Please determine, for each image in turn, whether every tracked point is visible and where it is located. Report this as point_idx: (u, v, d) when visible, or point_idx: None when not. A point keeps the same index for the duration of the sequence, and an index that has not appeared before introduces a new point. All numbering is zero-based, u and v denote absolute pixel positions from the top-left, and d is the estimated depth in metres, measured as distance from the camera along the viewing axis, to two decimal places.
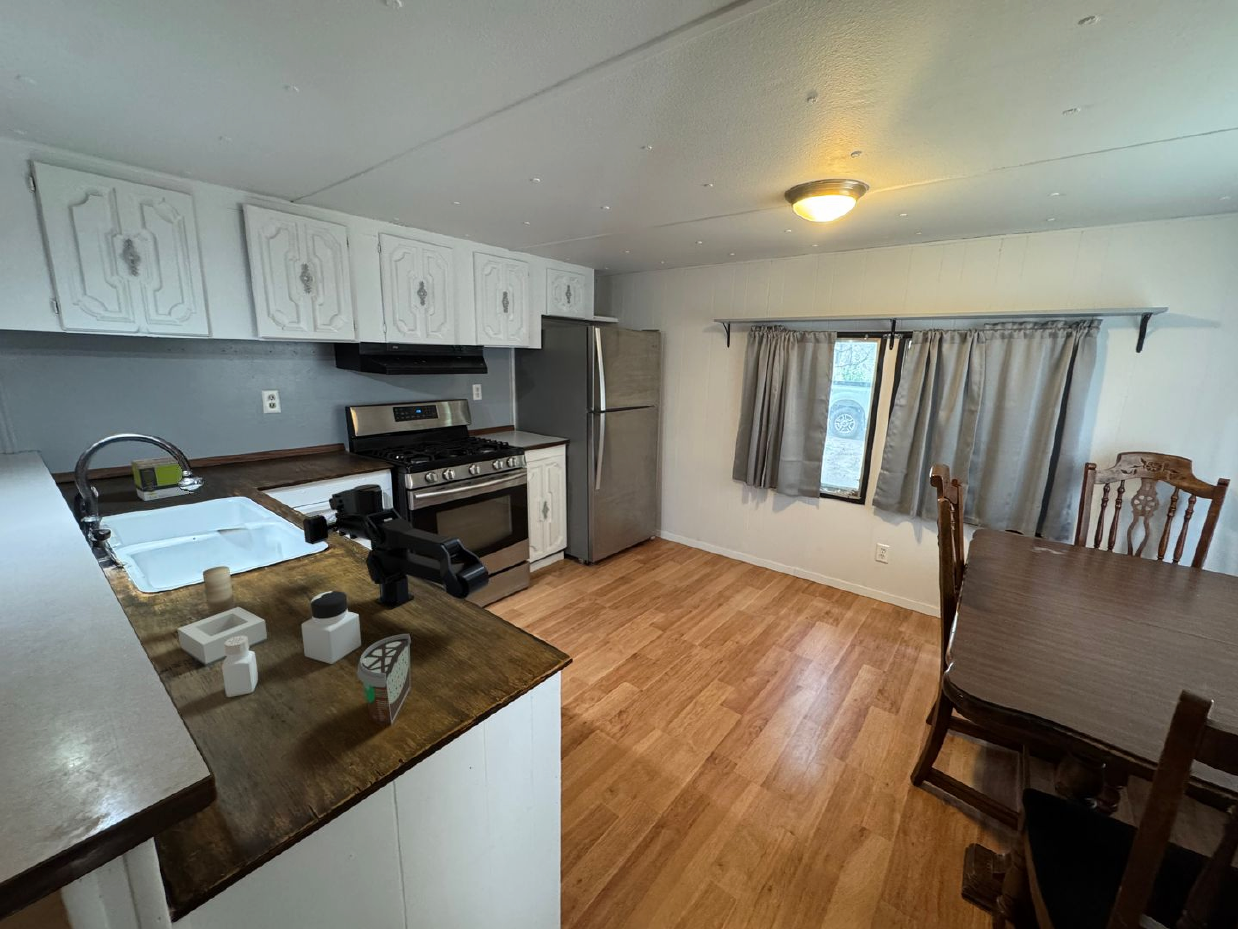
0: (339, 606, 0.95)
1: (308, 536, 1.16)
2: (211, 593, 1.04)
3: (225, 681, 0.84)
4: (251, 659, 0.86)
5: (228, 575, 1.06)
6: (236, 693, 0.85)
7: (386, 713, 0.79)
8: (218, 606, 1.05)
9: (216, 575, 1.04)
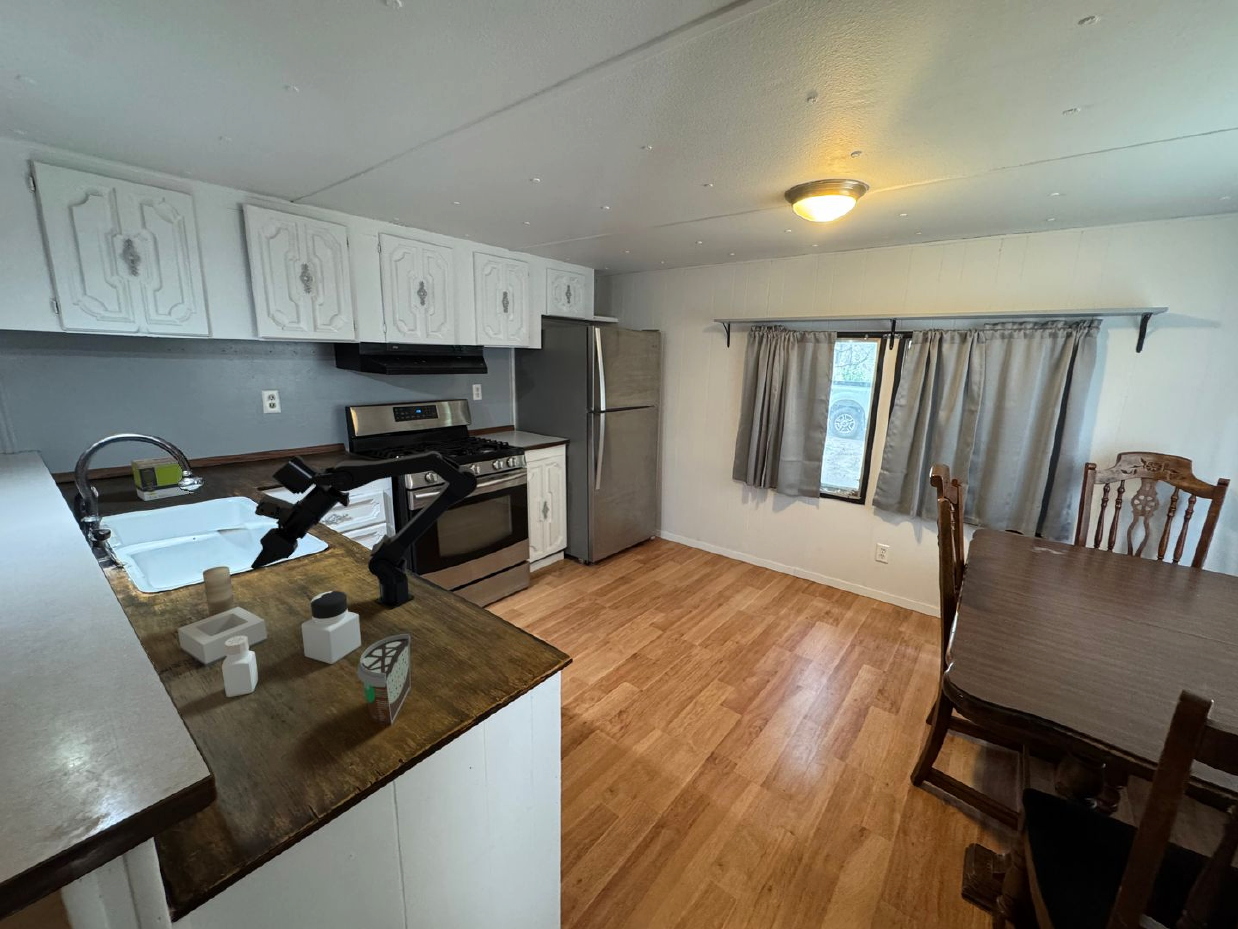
0: (339, 606, 0.95)
1: (283, 547, 1.01)
2: (210, 593, 1.04)
3: (225, 681, 0.84)
4: (251, 659, 0.86)
5: (228, 575, 1.06)
6: (236, 693, 0.85)
7: (386, 713, 0.79)
8: (218, 606, 1.05)
9: (216, 575, 1.04)
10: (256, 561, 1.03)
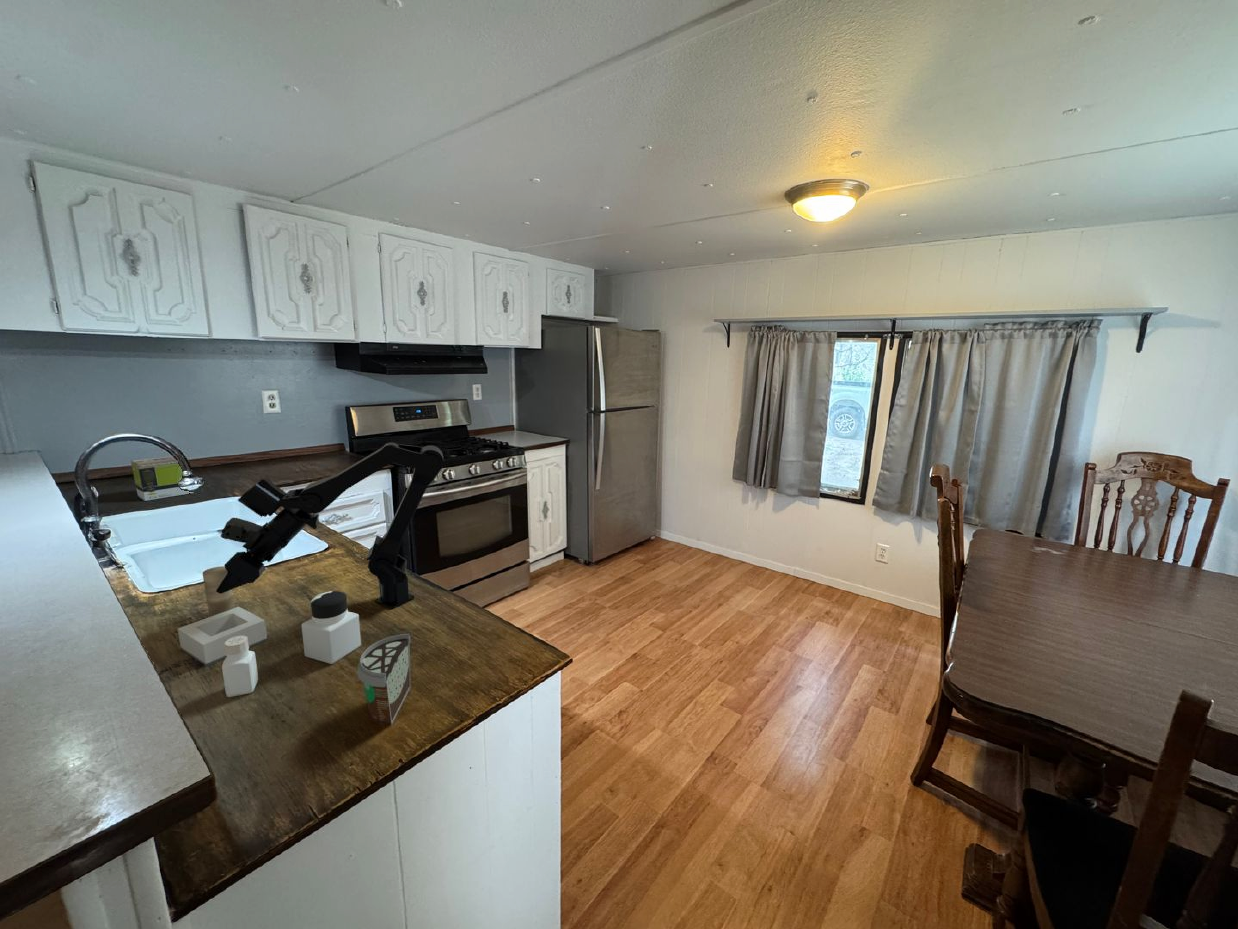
0: (339, 606, 0.95)
1: (248, 572, 0.99)
2: (210, 593, 1.04)
3: (225, 681, 0.84)
4: (251, 659, 0.86)
5: None
6: (236, 693, 0.85)
7: (386, 713, 0.79)
8: (218, 606, 1.05)
9: (216, 575, 1.04)
10: (222, 585, 1.02)
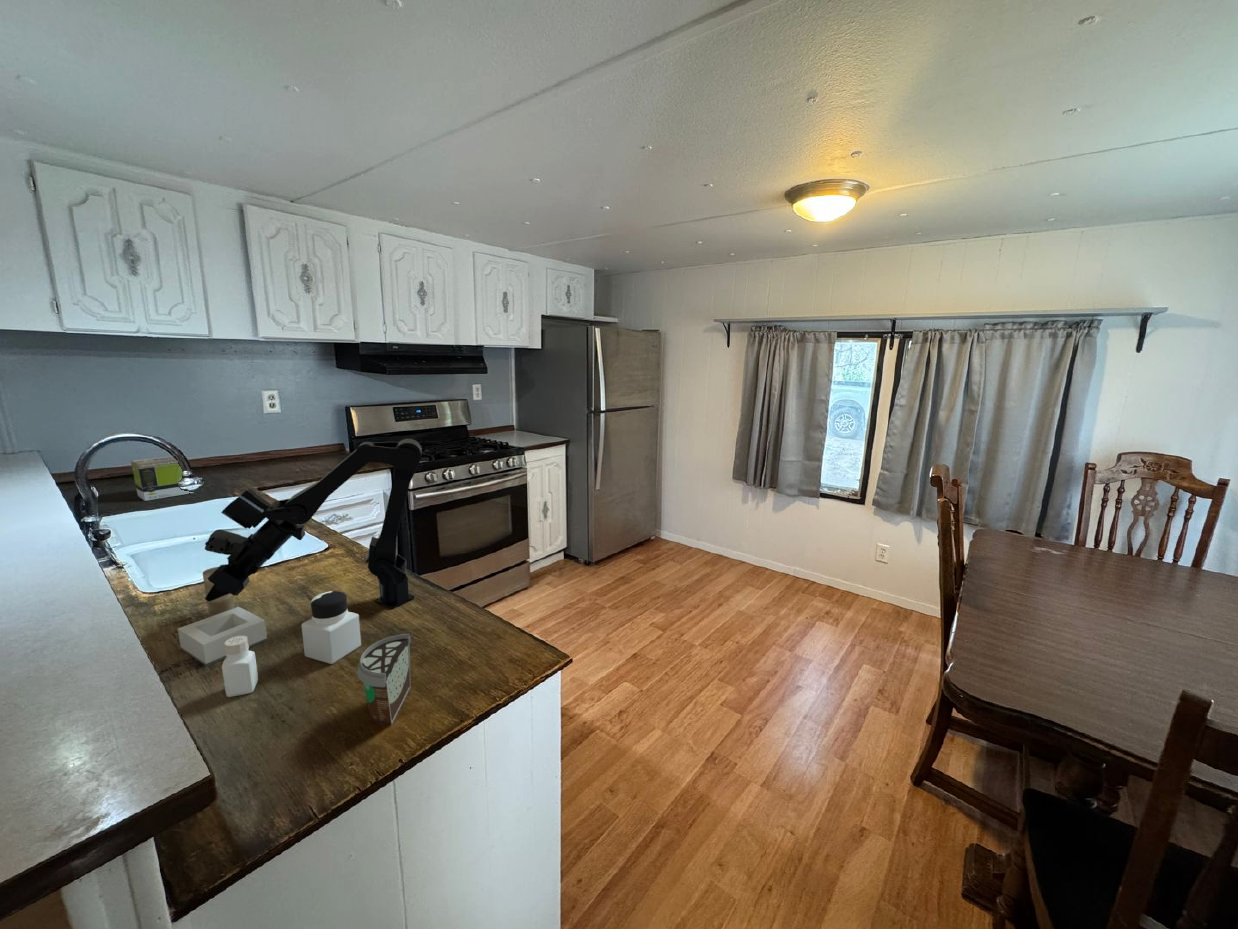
0: (339, 606, 0.95)
1: (231, 585, 0.99)
2: None
3: (225, 681, 0.84)
4: (251, 659, 0.86)
5: None
6: (236, 693, 0.85)
7: (386, 713, 0.79)
8: (218, 606, 1.05)
9: None
10: (210, 593, 1.03)
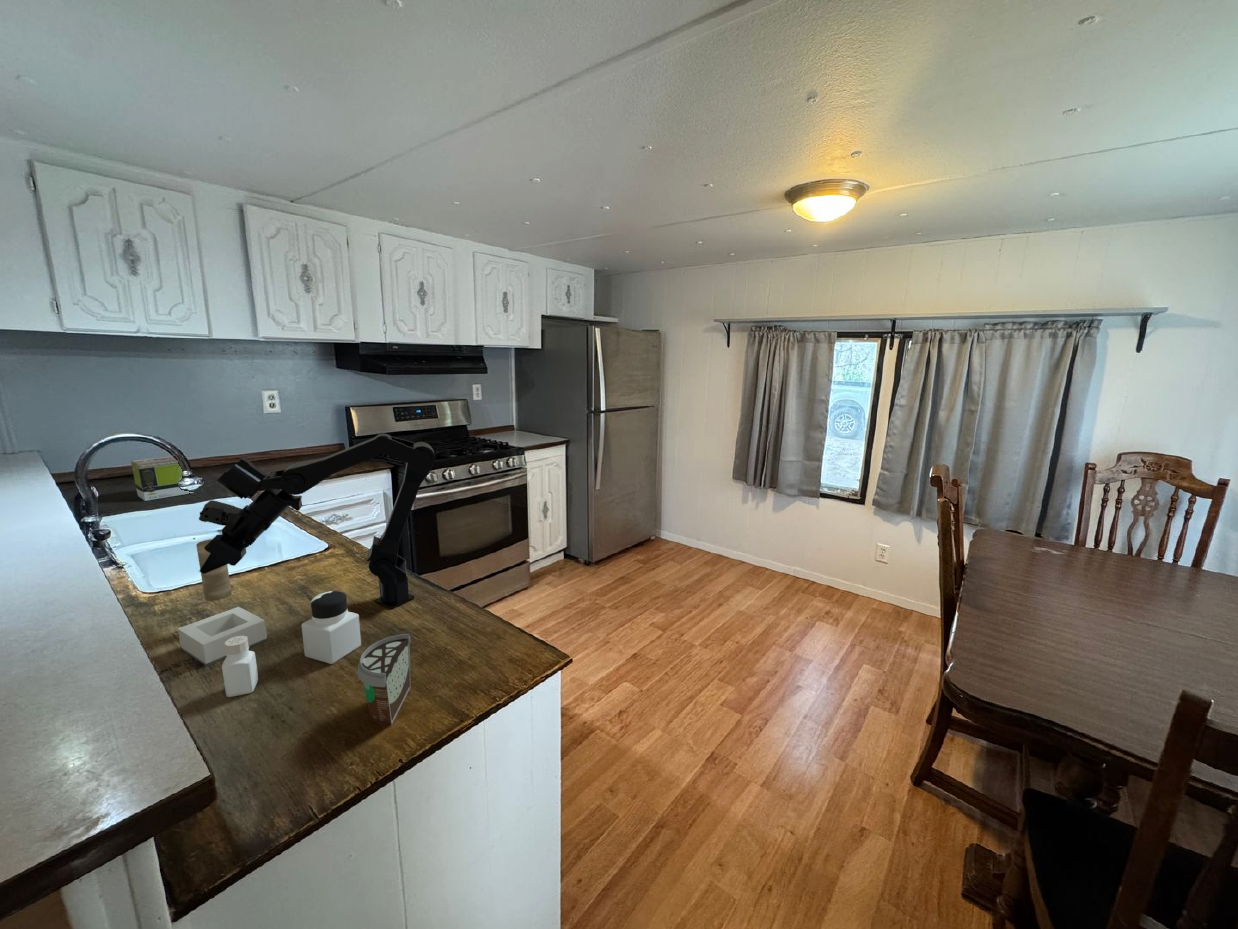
0: (339, 606, 0.95)
1: (229, 554, 0.96)
2: None
3: (225, 681, 0.84)
4: (251, 659, 0.86)
5: None
6: (236, 693, 0.85)
7: (386, 713, 0.79)
8: (213, 579, 1.02)
9: None
10: (205, 565, 1.00)
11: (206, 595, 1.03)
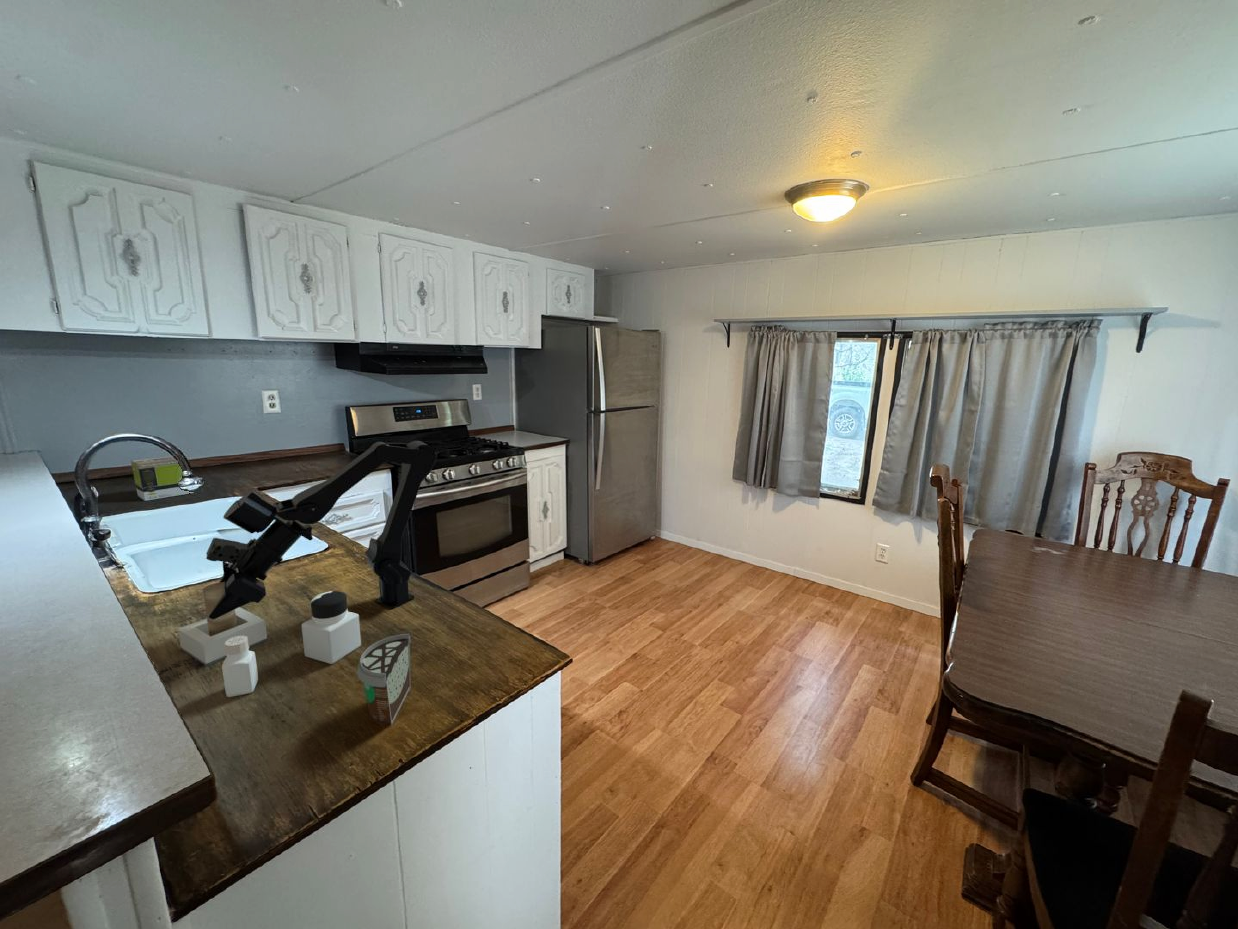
0: (339, 606, 0.95)
1: (254, 592, 0.93)
2: None
3: (225, 681, 0.84)
4: (251, 659, 0.86)
5: None
6: (236, 693, 0.85)
7: (386, 713, 0.79)
8: (224, 624, 0.97)
9: (222, 591, 0.96)
10: (216, 610, 0.94)
11: None
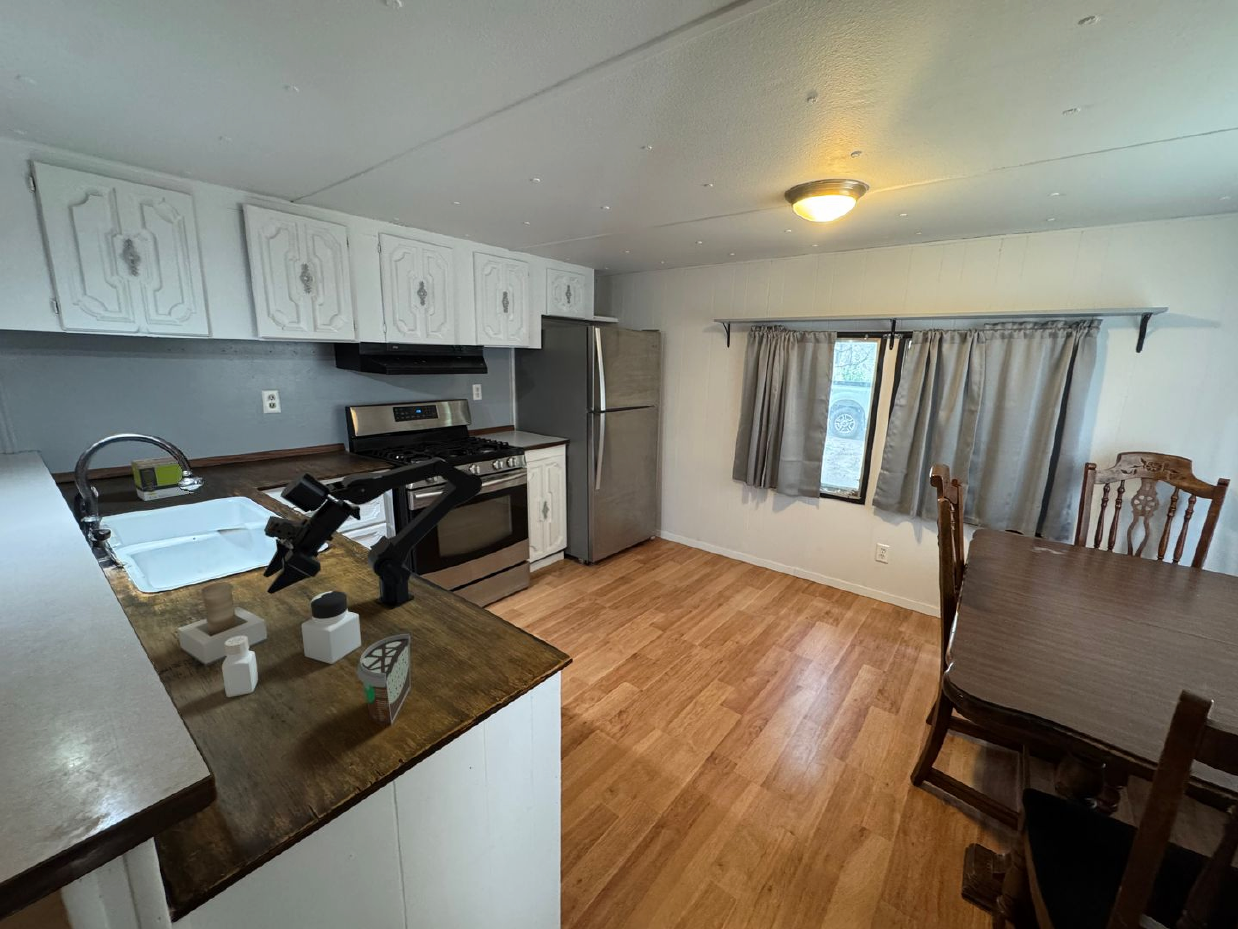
0: (339, 606, 0.95)
1: (310, 566, 0.98)
2: (215, 612, 0.96)
3: (225, 681, 0.84)
4: (251, 659, 0.86)
5: (231, 590, 0.98)
6: (236, 693, 0.85)
7: (386, 713, 0.79)
8: (224, 624, 0.97)
9: (221, 591, 0.96)
10: (275, 585, 0.99)
11: None
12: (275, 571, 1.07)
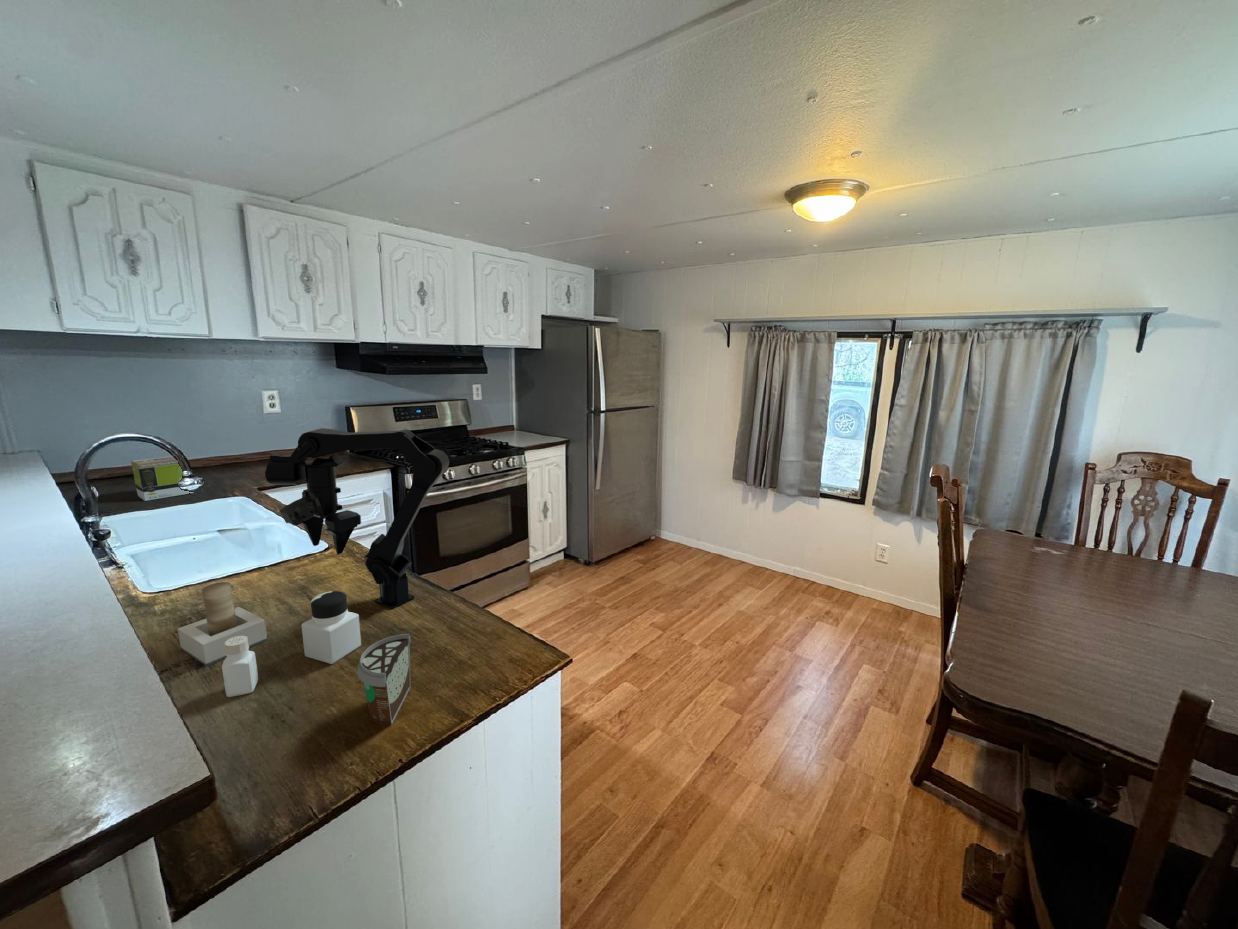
0: (339, 606, 0.95)
1: (353, 519, 1.10)
2: (215, 612, 0.96)
3: (225, 681, 0.84)
4: (251, 659, 0.86)
5: (231, 590, 0.98)
6: (236, 693, 0.85)
7: (386, 713, 0.79)
8: (224, 624, 0.97)
9: (221, 591, 0.96)
10: (339, 547, 1.13)
11: None
12: (319, 537, 1.18)
